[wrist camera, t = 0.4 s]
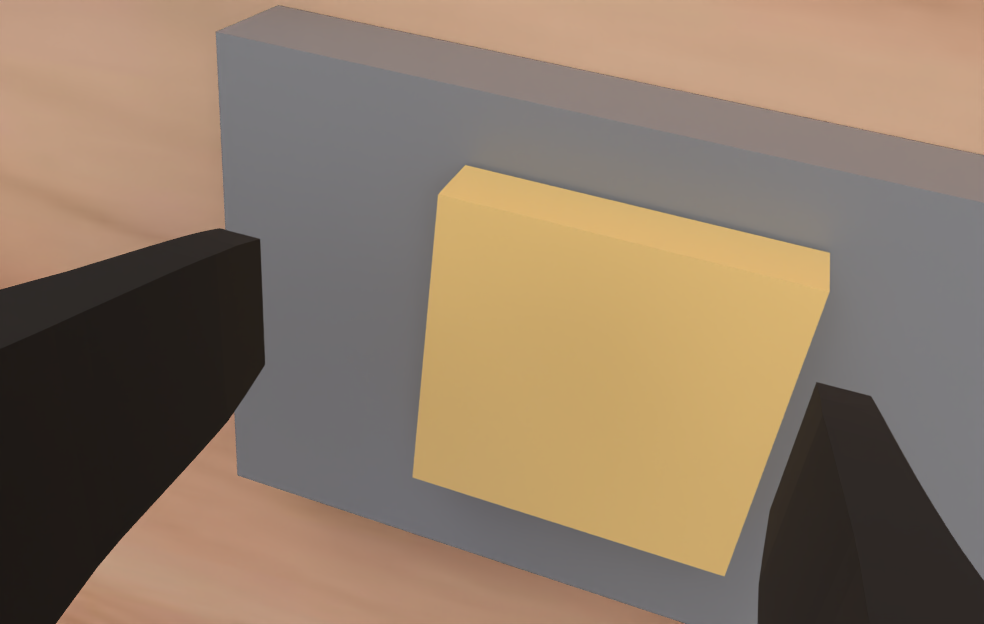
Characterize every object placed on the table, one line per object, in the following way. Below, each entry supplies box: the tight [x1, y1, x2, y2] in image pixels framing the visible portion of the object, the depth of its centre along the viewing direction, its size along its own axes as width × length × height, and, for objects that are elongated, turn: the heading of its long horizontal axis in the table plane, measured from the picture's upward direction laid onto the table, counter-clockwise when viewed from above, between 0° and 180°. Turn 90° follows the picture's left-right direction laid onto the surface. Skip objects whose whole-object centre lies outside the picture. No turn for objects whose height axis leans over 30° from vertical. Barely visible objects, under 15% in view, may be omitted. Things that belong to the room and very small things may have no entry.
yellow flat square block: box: [413, 165, 830, 576], centre depth 18 cm, size 7×7×2 cm
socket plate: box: [216, 5, 984, 624], centre depth 21 cm, size 12×18×2 cm, turn 83°
